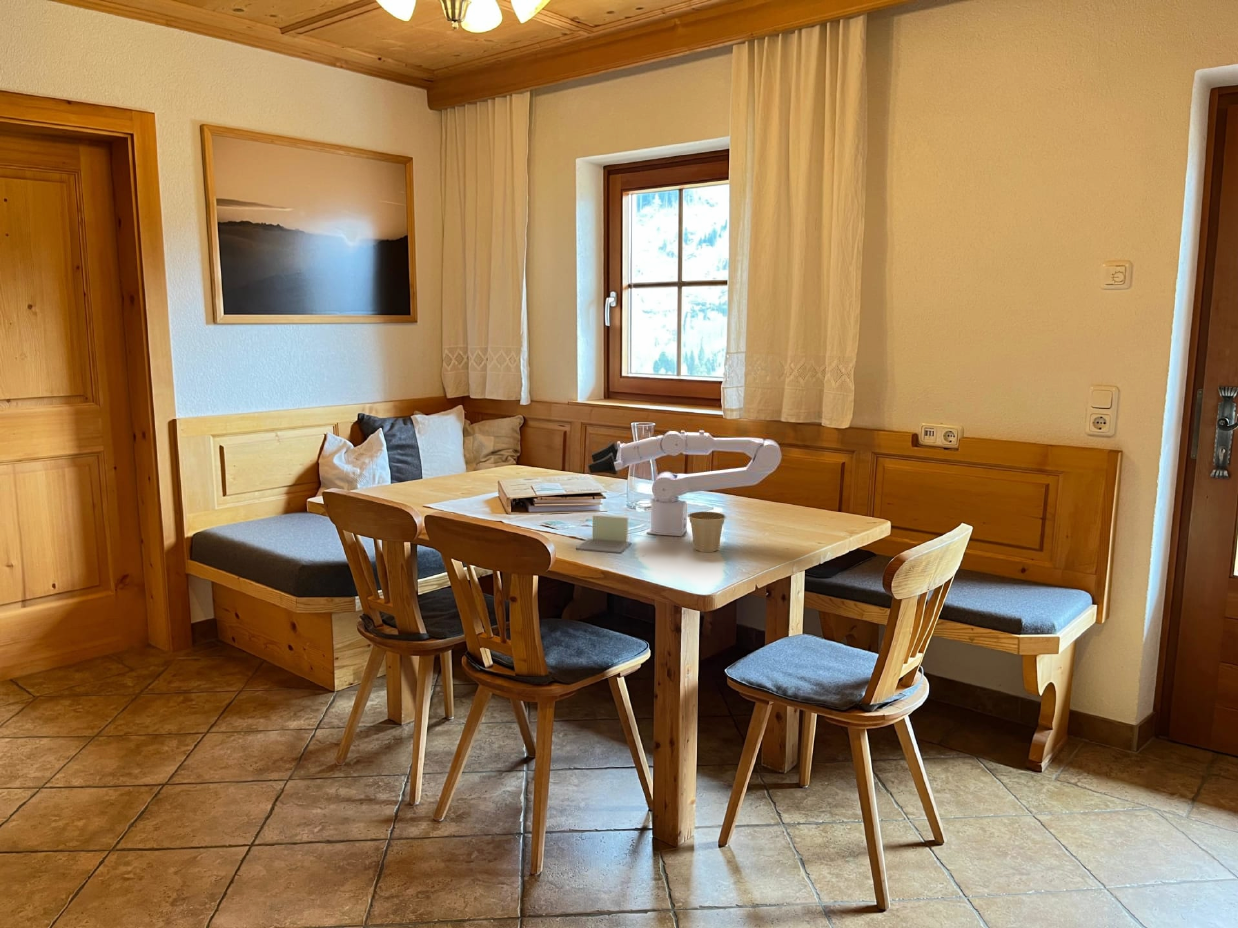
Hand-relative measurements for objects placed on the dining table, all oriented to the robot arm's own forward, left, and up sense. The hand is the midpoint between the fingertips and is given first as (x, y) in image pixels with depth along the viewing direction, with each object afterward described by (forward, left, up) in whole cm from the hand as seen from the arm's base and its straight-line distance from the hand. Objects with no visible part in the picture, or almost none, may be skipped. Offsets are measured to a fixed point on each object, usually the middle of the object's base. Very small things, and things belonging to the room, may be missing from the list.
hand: (591, 463), depth 249 cm
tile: (-9, +11, -18) cm, 23 cm away
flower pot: (-34, +11, -18) cm, 40 cm away
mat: (-9, +17, -18) cm, 26 cm away
